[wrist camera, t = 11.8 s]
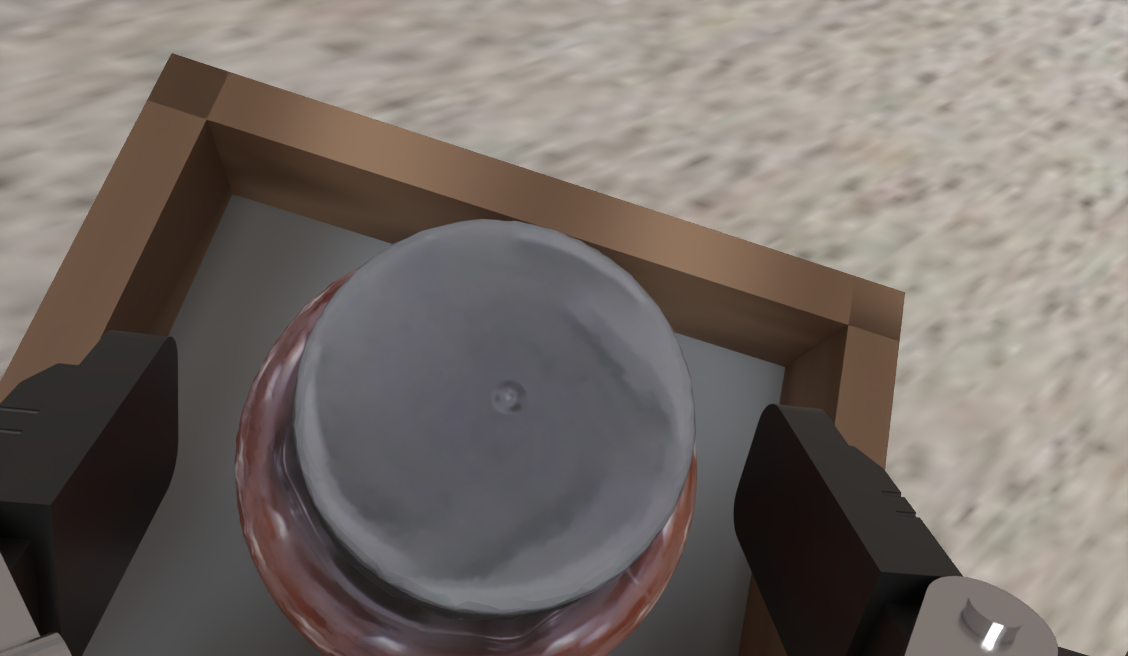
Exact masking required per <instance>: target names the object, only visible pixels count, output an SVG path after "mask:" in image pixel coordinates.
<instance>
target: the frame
mask: <svg viewBox="0 0 1128 656" xmlns="http://www.w3.org/2000/svg"><path fill="white" fill-rule="evenodd" d="M477 219H490V220H502V221H519V222H524V223H528V224H533V225H538V226H540V227H543V228H549V229H553V230H556V231H559V232H562V233H564V234H566V235H568V236H570V237H572V238H575V239H578V240H581V241H582V242H584V243H585V244H587V245H588V246H590V247H592V248H595V249H597V250H599V251H600V252H601V253H602V254H604V255H605V256H607V257H609V258H610V259H612V260H613V261H614V262H615V263H616V264H618V265H619V266H620V267H621V268H623V269H624V270H625V271H627V272H628V273H629V274H631V275H632V276H633V278H634V279H635V280H636V281H637V282H638V283H639V284H640V285H641V286H642V287H643V288H644V289H645V290H646V291H647V293H648V294H649V295H650V296H651V297H652V298H653V300H654V301H655V302H656V304H657V305H658V306H659V308H660V309H661V311H662V313H663V314H664V316H665V318H666V319H667V321H668V322H669V324H670V325H671V327H672V329H673V331H674V334H675V336H676V338H677V340H678V342H679V345H680V347H681V349H682V351H683V357H684V359H685V360H686V362H687V365H688V369H689V372H690V376H691V381H692V390H693V397H694V404H695V424H696V436H695V443H696V454H697V490H696V501H695V508H694V515H693V520H692V524H691V527H690V530H689V534H688V537H687V541H686V545H685V548H684V552H683V554H682V557H681V559H680V561H679V563H678V565H677V567H676V569H675V571H674V573H673V575H672V577H671V579H670V581H669V583H668V585H667V587H666V589H665V590H664V592H663V593H662V595H661V596H660V598H659V599H658V601H657V602H656V604H655V605H654V607H653V608H652V609H651V611H650V612H649V613H648V615H647V616H646V617H645V619H644V620H643V621H642V623H641V624H640V625H639V626H638V627H637V628H636V629H635V630H634V631H633V632H632V633H631V635H630V636H629V637H627V638H626V639H625V640H624V641H623V642H622V643H620V644H619V645H618V646H617V647H616V648H615V649H613V650H612V651H611V652H610V653H609V654H608V655H606V656H787V654H786V651H785V649H784V647H783V644H782V642H781V640H780V637H779V635H778V633H777V630H776V628H775V625H774V623H773V621H772V618H771V616H770V614H769V611H768V609H767V607H766V604H765V602H764V600H763V597H762V595H761V593H760V590H759V588H758V586H757V583H756V581H755V579H754V576H753V574H752V572H751V569H750V567H749V564H748V562H747V560H746V557H745V555H744V553H743V550H742V548H741V546H740V543H739V541H738V539H737V536H736V532H735V528H734V518H733V511H734V500H735V495H736V491H737V488H738V485H739V481H740V478H741V475H742V472H743V469H744V466H745V462H746V459H747V456H748V453H749V450H750V447H751V443H752V440H753V437H754V434H755V431H756V428H757V424H758V421H759V419H760V416H761V414H762V412H763V410H764V409H765V408H766V407H767V406H768V405H769V404H781V405H790V406H799V407H808V408H817V409H822V410H823V411H825V413H826V414H827V415H828V416H829V418H830V419H831V421H832V422H833V423H834V425H835V426H836V428H837V429H838V431H839V432H840V433H841V435H842V436H843V438H844V439H845V440H846V442H847V443H848V445H849V446H855V447H856V448H857V449H859V450H860V451H861V452H863V453H864V454H865V455H867V456H868V457H869V458H870V459H872V460H873V461H874V462H876V463H877V464H878V465H879V466H881V467H882V468H883V469H884V470H885V465H886V456H887V447H888V438H889V429H890V420H891V412H892V403H893V394H894V385H895V376H896V367H897V358H898V350H899V341H900V332H901V323H902V314H903V305H904V297H905V292H902V291H899V290H896V289H893V288H890V287H887V286H884V285H881V284H878V283H874V282H871V281H868V280H865V279H862V278H859V277H856V276H853V275H850V274H847V273H844V272H841V271H838V270H835V269H832V268H829V267H825V266H822V265H819V264H816V263H813V262H810V261H807V260H804V259H801V258H798V257H795V256H792V255H789V254H786V253H783V252H779V251H776V250H773V249H770V248H767V247H764V246H761V245H758V244H755V243H752V242H749V241H746V240H743V239H740V238H737V237H733V236H730V235H727V234H724V233H721V232H718V231H715V230H712V229H709V228H706V227H703V226H700V225H697V224H694V223H691V222H688V221H684V220H681V219H678V218H675V217H672V216H669V215H666V214H663V213H660V212H657V211H654V210H651V209H648V208H645V207H642V206H638V205H635V204H632V203H629V202H626V201H623V200H620V199H617V198H614V197H611V196H608V195H605V194H602V193H599V192H596V191H592V190H589V189H586V188H583V187H580V186H577V185H574V184H571V183H568V182H565V181H562V180H559V179H556V178H553V177H550V176H546V175H543V174H540V173H537V172H534V171H531V170H528V169H525V168H522V167H519V166H516V165H513V164H510V163H507V162H504V161H501V160H497V159H494V158H491V157H488V156H485V155H482V154H479V153H476V152H473V151H470V150H467V149H464V148H461V147H458V146H455V145H451V144H448V143H445V142H442V141H439V140H436V139H433V138H430V137H427V136H424V135H421V134H418V133H415V132H412V131H409V130H405V129H402V128H399V127H396V126H393V125H390V124H387V123H384V122H381V121H378V120H375V119H372V118H369V117H366V116H363V115H360V114H356V113H353V112H350V111H347V110H344V109H341V108H338V107H335V106H332V105H329V104H326V103H323V102H320V101H317V100H314V99H310V98H307V97H304V96H301V95H298V94H295V93H292V92H289V91H286V90H283V89H280V88H277V87H274V86H271V85H268V84H264V83H261V82H258V81H255V80H252V79H249V78H246V77H243V76H240V75H237V74H234V73H231V72H228V71H225V70H222V69H218V68H215V67H212V66H209V65H206V64H203V63H200V62H197V61H194V60H191V59H188V58H185V57H182V56H179V55H176V54H173V53H172V54H171V56H170V58H169V59H168V61H167V63H166V65H165V67H164V69H163V71H162V73H161V75H160V77H159V79H158V81H157V82H156V84H155V86H154V88H153V90H152V92H151V94H150V96H149V98H148V100H147V102H146V104H145V105H144V107H143V109H142V111H141V113H140V115H139V117H138V119H137V121H136V123H135V125H134V127H133V128H132V130H131V132H130V134H129V136H128V138H127V140H126V142H125V144H124V146H123V148H122V150H121V151H120V153H119V155H118V157H117V159H116V161H115V163H114V165H113V167H112V169H111V171H110V173H109V174H108V176H107V178H106V180H105V182H104V184H103V186H102V188H101V190H100V192H99V194H98V196H97V198H96V199H95V201H94V203H93V205H92V207H91V209H90V211H89V213H88V215H87V217H86V219H85V221H84V222H83V224H82V226H81V228H80V230H79V232H78V234H77V236H76V238H75V240H74V242H73V244H72V245H71V247H70V249H69V251H68V253H67V255H66V257H65V259H64V261H63V263H62V265H61V267H60V268H59V270H58V272H57V274H56V276H55V278H54V280H53V282H52V284H51V286H50V288H49V290H48V291H47V293H46V295H45V297H44V299H43V301H42V303H41V305H40V307H39V309H38V311H37V313H36V314H35V316H34V318H33V320H32V322H31V324H30V326H29V328H28V330H27V332H26V334H25V336H24V338H23V339H22V341H21V343H20V345H19V347H18V349H17V351H16V353H15V355H14V357H13V359H12V361H11V362H10V364H9V366H8V368H7V370H6V372H5V374H4V376H3V378H2V380H1V382H0V403H1V402H2V401H3V400H4V399H5V398H6V397H7V396H8V395H9V393H10V392H11V391H12V390H13V389H14V388H15V387H16V386H17V385H18V384H19V383H20V382H21V381H23V380H25V379H27V378H29V377H31V376H33V375H35V374H37V373H39V372H41V371H43V370H45V369H47V368H49V367H51V366H53V365H55V364H57V363H62V364H72V365H79V364H80V363H81V362H82V360H83V359H84V358H85V357H86V356H87V355H88V353H89V352H90V351H91V350H92V349H93V347H94V346H95V345H96V344H97V343H98V342H99V340H100V339H101V338H102V337H103V336H104V335H105V333H107V332H108V331H110V330H117V331H126V332H135V333H144V334H153V335H162V336H171V337H173V338H174V339H175V341H176V345H177V351H178V453H177V460H176V465H175V470H174V473H173V477H172V480H171V483H170V486H169V488H168V490H167V492H166V494H165V496H164V498H163V500H162V502H161V504H160V506H159V508H158V510H157V511H156V513H155V515H154V517H153V519H152V521H151V523H150V525H149V527H148V529H147V531H146V533H145V535H144V537H143V539H142V541H141V543H140V544H139V546H138V548H137V550H136V552H135V554H134V556H133V558H132V560H131V562H130V564H129V566H128V568H127V570H126V572H125V574H124V576H123V577H122V579H121V581H120V583H119V585H118V587H117V589H116V591H115V593H114V595H113V597H112V599H111V601H110V603H109V605H108V607H107V609H106V611H105V612H104V614H103V616H102V618H101V620H100V622H99V624H98V626H97V628H96V630H95V632H94V634H93V636H92V638H91V640H90V642H89V644H88V645H87V647H86V649H85V651H84V653H83V655H82V656H324V655H323V654H322V653H321V652H320V651H319V650H318V649H317V648H315V647H314V646H313V645H311V644H310V643H309V642H308V641H307V639H306V638H305V637H304V636H303V635H302V634H301V633H300V632H299V631H298V630H297V629H296V628H295V627H294V626H293V625H292V623H291V622H290V621H289V620H288V619H287V617H286V616H285V615H284V614H283V613H282V612H281V610H280V608H279V607H278V605H277V604H276V603H275V601H274V600H273V598H272V597H271V595H270V593H269V592H268V590H267V588H266V586H265V584H264V582H263V581H262V579H261V577H260V575H259V573H258V571H257V568H256V566H255V564H254V562H253V560H252V558H251V555H250V552H249V548H248V546H247V544H246V541H245V539H244V536H243V531H242V527H241V523H240V517H239V511H238V508H237V492H236V483H235V464H234V461H235V451H236V437H237V433H238V430H239V423H240V418H241V414H242V410H243V407H244V404H245V402H246V400H247V397H248V394H249V391H250V388H251V385H252V383H253V380H254V378H255V377H256V375H257V373H258V371H259V369H260V367H261V365H262V363H263V362H264V360H265V358H266V356H267V354H268V352H269V351H270V349H271V348H272V347H273V345H274V343H275V342H276V341H277V339H278V338H279V337H280V336H281V335H282V333H283V332H284V330H285V329H286V327H287V326H288V325H289V324H290V323H291V322H292V321H293V320H294V318H295V317H296V316H297V315H298V313H299V312H300V311H301V310H302V308H303V307H304V306H305V305H306V303H307V302H310V301H311V300H312V299H314V298H315V297H316V296H317V295H319V294H320V293H321V292H322V291H324V290H325V289H326V288H327V287H328V286H329V285H330V284H331V283H332V282H334V281H336V280H337V279H338V278H341V277H343V276H345V275H346V274H348V273H350V272H351V271H353V270H356V269H358V268H359V267H360V266H361V265H364V264H365V263H366V262H367V261H369V260H370V259H371V258H372V257H374V256H375V255H377V254H378V253H379V252H381V251H383V250H385V249H386V248H388V247H390V246H391V245H392V244H394V243H396V242H399V241H401V240H403V239H406V238H408V237H410V236H412V235H414V234H416V233H418V232H420V231H424V230H427V229H430V228H434V227H438V226H442V225H446V224H451V223H455V222H459V221H468V220H477Z"/></svg>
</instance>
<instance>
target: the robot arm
mask: <svg viewBox="0 0 1128 656" xmlns="http://www.w3.org/2000/svg"><path fill="white" fill-rule="evenodd" d="M177 453H178V351H177V345H176V341H175V339H174V338H173V337H171V336H162V335H153V334H144V333H135V332H126V331H117V330H110V331H108V332H107V333H105V335H104V336H103V337H102V338H101V339H100V340H99V342H98V343H97V344H96V345H95V346H94V347H93V349H92V350H91V351H90V352H89V353H88V355H87V356H86V357H85V358H84V359H83V360H82V362H81V363H80V364H79V365H72V364H62V363H57V364H55V365H53V366H51V367H49V368H47V369H45V370H43V371H41V372H39V373H37V374H35V375H33V376H31V377H29V378H27V379H25V380H23V381H21V382H20V383H19V384H18V385H17V386H16V387H15V388H14V389H13V390H12V391H11V392H10V393H9V395H8V396H7V397H6V398H5V399H4V400H3V401H2V402H1V403H0V656H82V655H83V653H84V651H85V649H86V647H87V645H88V644H89V642H90V640H91V638H92V636H93V634H94V632H95V630H96V628H97V626H98V624H99V622H100V620H101V618H102V616H103V614H104V612H105V611H106V609H107V607H108V605H109V603H110V601H111V599H112V597H113V595H114V593H115V591H116V589H117V587H118V585H119V583H120V581H121V579H122V577H123V576H124V574H125V572H126V570H127V568H128V566H129V564H130V562H131V560H132V558H133V556H134V554H135V552H136V550H137V548H138V546H139V544H140V543H141V541H142V539H143V537H144V535H145V533H146V531H147V529H148V527H149V525H150V523H151V521H152V519H153V517H154V515H155V513H156V511H157V510H158V508H159V506H160V504H161V502H162V500H163V498H164V496H165V494H166V492H167V490H168V488H169V486H170V483H171V480H172V477H173V473H174V470H175V465H176V460H177ZM915 514H916V512H915V511H914V509H913V508H912V507H911V505H910V504H909V503H908V501H907V500H906V498H905V497H901V492H900V490H899V489H898V488H897V486H896V485H895V484H894V482H893V481H892V480H891V478H890V477H889V475H888V474H887V473H886V471H885V470H884V469H883V468H882V467H881V466H879V465H878V464H877V463H876V462H874V461H873V460H872V459H870V458H869V457H868V456H867V455H865V454H864V453H863V452H861V451H860V450H859V449H857V448H856V447H855V446H849V445H848V443H847V442H846V440H845V439H844V438H843V436H842V435H841V433H840V432H839V431H838V429H837V428H836V426H835V425H834V423H833V422H832V421H831V419H830V418H829V416H828V415H827V414H826V413H825V411H823V410H822V409H817V408H808V407H799V406H790V405H781V404H769V405H768V406H767V407H766V408H765V409H764V410H763V412H762V414H761V416H760V419H759V421H758V424H757V428H756V431H755V434H754V437H753V440H752V443H751V447H750V450H749V453H748V456H747V459H746V462H745V466H744V469H743V472H742V475H741V478H740V481H739V485H738V488H737V491H736V495H735V500H734V511H733V518H734V528H735V532H736V536H737V539H738V541H739V543H740V546H741V548H742V550H743V553H744V555H745V557H746V560H747V562H748V564H749V567H750V569H751V572H752V574H753V576H754V579H755V581H756V583H757V586H758V588H759V590H760V593H761V595H762V597H763V600H764V602H765V604H766V607H767V609H768V611H769V614H770V616H771V618H772V621H773V623H774V625H775V628H776V630H777V633H778V635H779V637H780V640H781V642H782V644H783V647H784V649H785V651H786V654H787V656H1088V655H1084V654H1081V653H1078V652H1074V651H1071V650H1068V649H1064V648H1061V647H1058V644H1057V641H1056V638H1055V636H1054V634H1053V632H1052V631H1051V629H1050V628H1049V626H1048V625H1047V624H1046V622H1045V621H1044V620H1043V619H1042V618H1041V617H1040V616H1039V615H1038V614H1037V613H1036V612H1035V611H1034V610H1033V609H1031V608H1030V607H1029V606H1028V605H1026V604H1025V603H1024V602H1022V601H1021V600H1020V599H1018V598H1016V597H1015V596H1013V595H1011V594H1010V593H1008V592H1006V591H1004V590H1002V589H1000V588H998V587H996V586H994V585H991V584H989V583H986V582H983V581H980V580H977V579H972V578H968V577H963V576H962V574H961V573H960V572H959V570H958V569H957V568H956V566H955V565H954V563H953V562H952V561H951V559H950V558H949V557H948V555H947V554H946V553H945V551H944V550H943V549H942V547H941V546H940V544H939V543H938V542H937V540H936V539H935V538H934V536H933V535H932V534H931V532H930V531H929V530H928V528H927V527H926V526H925V524H924V523H923V521H922V520H921V519H920V518H918V517H916V516H915ZM1125 656H1128V652H1127V654H1126V655H1125Z"/></svg>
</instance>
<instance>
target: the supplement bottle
mask: <svg viewBox="0 0 1128 656" xmlns="http://www.w3.org/2000/svg"><path fill="white" fill-rule="evenodd" d="M695 436H696V424H695V404H694V397H693V390H692V381H691V376H690V372H689V369H688V365H687V362H686V360H685V359H684V357H683V351H682V349H681V347H680V345H679V342H678V340H677V338H676V336H675V334H674V331H673V329H672V327H671V325H670V324H669V322H668V321H667V319H666V318H665V316H664V314H663V313H662V311H661V309H660V308H659V306H658V305H657V304H656V302H655V301H654V300H653V298H652V297H651V296H650V295H649V294H648V293H647V291H646V290H645V289H644V288H643V287H642V286H641V285H640V284H639V283H638V282H637V281H636V280H635V279H634V278H633V276H632V275H631V274H629V273H628V272H627V271H625V270H624V269H623V268H621V267H620V266H619V265H618V264H616V263H615V262H614V261H613V260H612V259H610V258H609V257H607V256H605V255H604V254H602V253H601V252H600V251H599V250H597V249H595V248H592V247H590V246H588V245H587V244H585V243H584V242H582V241H581V240H578V239H575V238H572V237H570V236H568V235H566V234H564V233H562V232H559V231H556V230H553V229H549V228H543V227H540V226H538V225H533V224H528V223H524V222H519V221H502V220H490V219H477V220H468V221H459V222H455V223H451V224H446V225H442V226H438V227H434V228H430V229H427V230H424V231H420V232H418V233H416V234H414V235H412V236H410V237H408V238H406V239H403V240H401V241H399V242H396V243H394V244H392V245H391V246H390V247H388V248H386V249H385V250H383V251H381V252H379V253H378V254H377V255H375V256H374V257H372V258H371V259H370V260H369V261H367V262H366V263H365V264H364V265H361V266H360V267H359V268H358V269H356V270H353V271H351V272H350V273H348V274H346V275H345V276H343V277H341V278H338V279H337V280H336V281H334V282H332V283H331V284H330V285H329V286H328V287H327V288H326V289H325V290H324V291H322V292H321V293H320V294H319V295H317V296H316V297H315V298H314V299H312V300H311V301H310V302H307V303H306V305H305V306H304V307H303V308H302V310H301V311H300V312H299V313H298V315H297V316H296V317H295V318H294V320H293V321H292V322H291V323H290V324H289V325H288V326H287V327H286V329H285V330H284V332H283V333H282V335H281V336H280V337H279V338H278V339H277V341H276V342H275V343H274V345H273V347H272V348H271V349H270V351H269V352H268V354H267V356H266V358H265V360H264V362H263V363H262V365H261V367H260V369H259V371H258V373H257V375H256V377H255V378H254V380H253V383H252V385H251V388H250V391H249V394H248V397H247V400H246V402H245V404H244V407H243V410H242V414H241V418H240V423H239V430H238V433H237V437H236V451H235V461H234V464H235V483H236V492H237V508H238V511H239V517H240V523H241V527H242V531H243V536H244V539H245V541H246V544H247V546H248V548H249V552H250V555H251V558H252V560H253V562H254V564H255V566H256V568H257V571H258V573H259V575H260V577H261V579H262V581H263V582H264V584H265V586H266V588H267V590H268V592H269V593H270V595H271V597H272V598H273V600H274V601H275V603H276V604H277V605H278V607H279V608H280V610H281V612H282V613H283V614H284V615H285V616H286V617H287V619H288V620H289V621H290V622H291V623H292V625H293V626H294V627H295V628H296V629H297V630H298V631H299V632H300V633H301V634H302V635H303V636H304V637H305V638H306V639H307V641H308V642H309V643H310V644H311V645H313V646H314V647H315V648H317V649H318V650H319V651H320V652H321V653H322V654H323V655H324V656H606V655H608V654H609V653H610V652H611V651H612V650H613V649H615V648H616V647H617V646H618V645H619V644H620V643H622V642H623V641H624V640H625V639H626V638H627V637H629V636H630V635H631V633H632V632H633V631H634V630H635V629H636V628H637V627H638V626H639V625H640V624H641V623H642V621H643V620H644V619H645V617H646V616H647V615H648V613H649V612H650V611H651V609H652V608H653V607H654V605H655V604H656V602H657V601H658V599H659V598H660V596H661V595H662V593H663V592H664V590H665V589H666V587H667V585H668V583H669V581H670V579H671V577H672V575H673V573H674V571H675V569H676V567H677V565H678V563H679V561H680V559H681V557H682V554H683V552H684V548H685V545H686V541H687V537H688V534H689V530H690V527H691V524H692V520H693V515H694V508H695V501H696V490H697V454H696V443H695Z"/></svg>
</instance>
